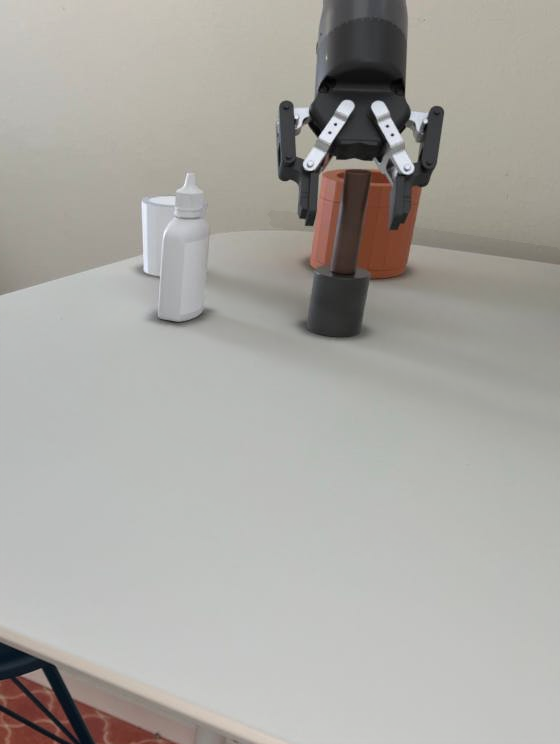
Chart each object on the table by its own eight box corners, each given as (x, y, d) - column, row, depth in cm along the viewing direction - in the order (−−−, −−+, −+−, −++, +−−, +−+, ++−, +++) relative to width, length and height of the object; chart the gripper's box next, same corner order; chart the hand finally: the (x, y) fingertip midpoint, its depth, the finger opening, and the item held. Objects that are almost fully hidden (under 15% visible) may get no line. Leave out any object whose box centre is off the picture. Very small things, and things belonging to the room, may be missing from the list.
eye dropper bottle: (219, 317, 92) (232, 175, 85) (168, 324, 89) (178, 180, 83) (192, 305, 95) (203, 167, 88) (142, 312, 92) (150, 171, 86)
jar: (384, 255, 113) (400, 168, 108) (420, 278, 105) (438, 185, 100) (298, 255, 112) (309, 168, 107) (326, 279, 104) (340, 186, 99)
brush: (350, 320, 92) (376, 166, 84) (368, 336, 88) (397, 176, 80) (299, 321, 91) (321, 166, 84) (315, 337, 87) (340, 176, 80)
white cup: (177, 260, 109) (182, 191, 105) (215, 274, 104) (221, 203, 101) (125, 267, 106) (128, 196, 102) (161, 282, 101) (166, 209, 98)
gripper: (283, 11, 83) (271, 190, 80) (460, 16, 81) (455, 198, 78) (272, 78, 90) (261, 245, 87) (434, 83, 89) (429, 252, 86)
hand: (353, 222), depth 83 cm, fingers open, 6 cm apart
